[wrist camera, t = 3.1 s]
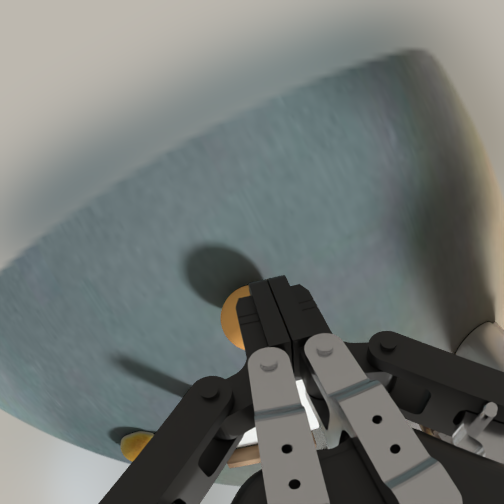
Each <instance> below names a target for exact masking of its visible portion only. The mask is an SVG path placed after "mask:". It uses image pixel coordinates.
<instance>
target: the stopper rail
mask: <svg viewBox="0 0 504 504" xmlns="http://www.w3.org/2000/svg"><path fill="white" fill-rule="evenodd" d="M311 432H312V431H311ZM312 436H313V433H312ZM313 440H314V444H315V448H316V441H315V439H314V436H313ZM260 462H261V459H260V453H259V446H258V445H254V446H250V447H245V448H239V449H235V451H234V452H233V454H232V456H231V457H230V459H229V460H228V462H227V464H228V466H229V468H235V467H240V466H246V465H251V464H256V463H260Z"/></svg>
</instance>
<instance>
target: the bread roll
mask: <svg viewBox="0 0 504 504" xmlns="http://www.w3.org/2000/svg"><path fill="white" fill-rule="evenodd" d="M153 436H154V434H153V433H150V432H144V431H138V432H134V433H131V434H129V435H126V436H124V437H123V438H122V440H121V451H122V453H123V455H124V456H125V457H126V458H127V459H128V460H130V461H132V462H133V461H134V460H135V458H136V457H137V456H138V455H139V453H140V452H141V451H142V450H143V448H144V447H145V446H146V445H147V443H148V442H149V441H150V439H151V438H152V437H153Z"/></svg>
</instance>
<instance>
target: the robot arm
mask: <svg viewBox="0 0 504 504" xmlns="http://www.w3.org/2000/svg"><path fill="white" fill-rule="evenodd" d="M248 286H249V292H250V296H246V297H242V298H238V301H237V304H236V307H235V308H236V313H237V317H238V322H239V327H240V331H241V335H242V340H243V344H244V348H245V352H246V356H247V360H246V363H245V365H244V367H243V368H242V369H241V370H240V371H239V372H238V373H237V374H235V375H233V376H231V377H229V378H227V379H223V378H221V377H218V376H208V377H204V378H202V379H200V380H198V381H196V382H195V383H194V384H193V385H192V387H191V388H190V389H189V391H188V392H187V393H186V394H185V396H184V397H183V398H182V400H181V401H180V402H179V404H178V405H177V406H176V407H175V409H174V410H173V411H172V413H171V414H170V415H169V417H168V418H167V419H166V420H165V422H164V423H163V424H162V426H161V427H160V428H159V429H158V431H157V432H156V433H155V434H154V436H153V437H152V438H151V439H150V441H149V442H148V443H147V445H146V446H145V447H144V448H143V450H142V451H141V452H140V453H139V455H138V456H137V457H136V458H135V460H134V461H133V462H132V463H131V465H130V466H129V467H128V468H127V470H126V471H125V472H124V473H123V474H122V476H121V477H120V478H119V480H118V481H117V482H116V483H115V484H114V486H113V487H112V488H111V489H110V491H109V492H108V493H107V494H106V495H105V496H104V498H103V499H102V500H101V501H100V502H99V504H200V502H201V501H202V499H203V498H204V497H205V495H206V494H207V492H208V491H209V489H210V488H211V486H212V485H213V483H214V482H215V480H216V479H217V477H218V476H219V474H220V473H221V471H222V470H223V468H224V466H225V465H226V463H227V462H228V460H229V459H230V457H231V456H232V454H233V452H234V451H235V449H236V448H237V446H238V444H239V443H240V441H241V440H242V438H243V436H244V433H245V432H247V431H249V430H251V429H253V428H254V427H256V433H257V440H258V446H259V453H260V459H261V466H262V469H261V470H259V471H258V472H256V473H255V474H253V475H252V476H251V477H250V478H249V479H248V480H247V481H246V482H245V483H244V484H243V485H242V486H241V488H240V489H239V491H238V492H237V494H236V496H235V497H234V499H233V501H232V503H231V504H504V330H503V329H502V328H501V327H500V326H499V325H498V324H497V323H496V322H495V323H491V322H486V323H484V324H482V325H480V326H479V327H477V328H476V329H475V330H474V331H473V332H471V333H470V334H469V335H468V337H467V338H466V339H465V340H464V341H463V342H462V344H461V345H460V347H459V348H458V350H457V352H456V354H452V353H449V352H446V351H444V350H441V349H438V348H436V347H433V346H430V345H427V344H425V343H422V342H419V341H417V340H414V339H411V338H409V337H406V336H403V335H401V334H398V333H395V332H392V331H382V332H379V333H376V334H375V335H373V336H372V337H371V339H370V340H369V343H347V342H344V341H342V339H340V338H339V337H338V336H336V335H333V334H332V332H331V331H330V329H329V327H328V325H327V323H326V321H325V319H324V318H323V316H322V314H321V312H320V310H319V308H317V305H316V303H315V301H314V300H313V298H312V296H311V294H310V292H309V290H307V289H306V288H304V287H303V286H301V285H300V284H298V285H294V286H290V285H289V283H288V281H287V279H286V277H285V275H283V276H278V277H274V278H269V279H267V280H266V279H265V280H261V281H256V282H252V283H248ZM298 380H302V381H303V383H304V386H305V396H306V398H307V400H308V402H309V404H310V406H311V408H312V411H313V413H314V415H315V417H316V419H317V421H318V423H319V425H320V427H321V429H322V431H323V433H324V436H325V439H326V444H327V447H328V449H323V450H316V448H315V444H314V440H313V436H312V432H311V429H310V425H309V421H308V417H307V414H306V410H305V408H304V406H302V404H301V400H300V397H299V393H298V389H297V385H296V381H298ZM406 419H408V420H410V421H412V422H415V423H417V424H420V425H422V426H425V427H427V428H430V429H432V430H435V431H437V432H440V433H443V434H445V435H448V436H451V437H453V442H454V445H453V444H451V443H448V442H446V441H443V440H441V439H439V438H436V437H434V436H432V435H429V434H427V433H425V432H423V431H420V430H417V429H414V428H411V426H410V425H409V423H408V422H407V420H406Z"/></svg>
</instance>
